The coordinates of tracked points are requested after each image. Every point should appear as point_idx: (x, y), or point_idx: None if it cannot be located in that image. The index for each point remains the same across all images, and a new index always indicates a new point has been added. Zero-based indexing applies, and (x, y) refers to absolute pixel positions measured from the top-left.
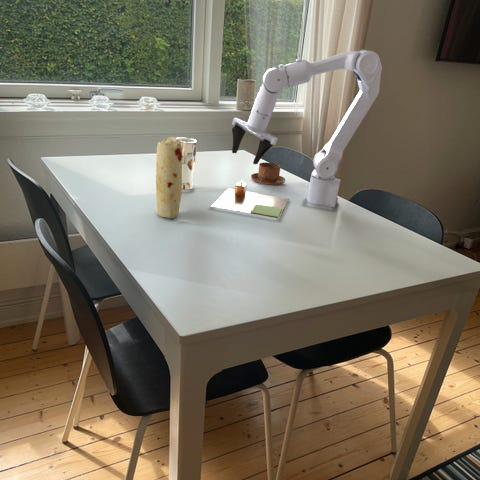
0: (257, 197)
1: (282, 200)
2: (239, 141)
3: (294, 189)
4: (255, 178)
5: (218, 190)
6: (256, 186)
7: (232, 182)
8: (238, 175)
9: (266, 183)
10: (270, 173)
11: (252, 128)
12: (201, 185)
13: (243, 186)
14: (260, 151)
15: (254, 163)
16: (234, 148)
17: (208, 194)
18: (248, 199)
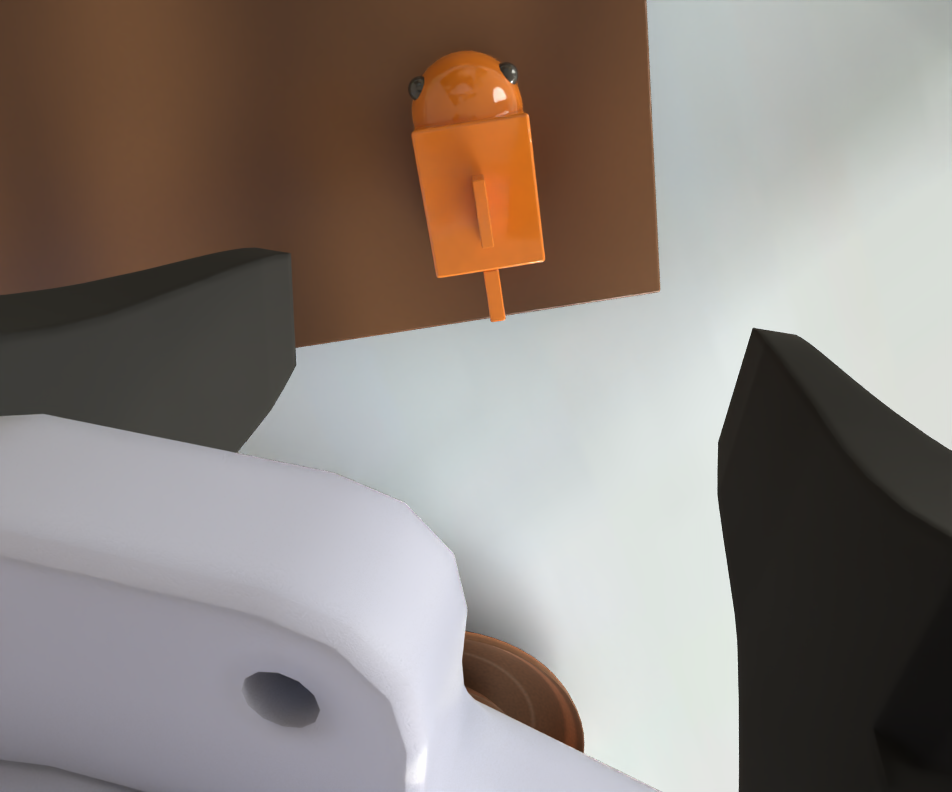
0: (277, 199)
1: (29, 286)
2: (760, 592)
3: None
4: (545, 726)
5: (747, 249)
6: (475, 589)
7: (698, 558)
8: (710, 744)
9: None
10: None
11: (33, 718)
12: (948, 286)
13: (421, 128)
14: (19, 301)
15: (257, 251)
16: (779, 356)
17: (807, 34)
18: (323, 54)
